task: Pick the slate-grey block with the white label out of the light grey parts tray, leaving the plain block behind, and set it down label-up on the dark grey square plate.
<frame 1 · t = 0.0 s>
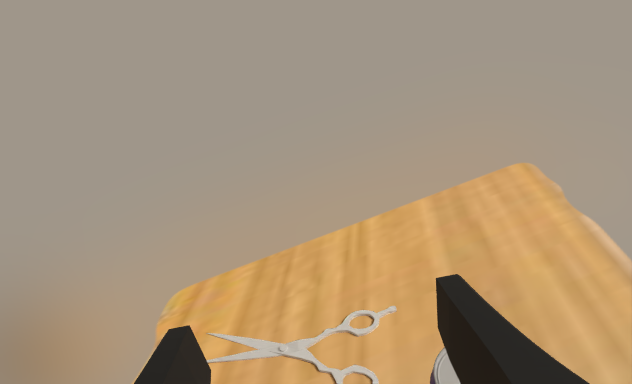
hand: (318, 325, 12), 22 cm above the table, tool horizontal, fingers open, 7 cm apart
scissors: (293, 353, 41), on the table
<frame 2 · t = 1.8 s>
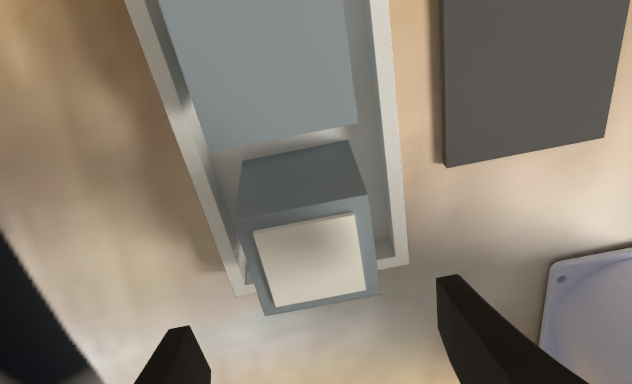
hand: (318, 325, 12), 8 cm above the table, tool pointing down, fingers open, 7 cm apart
dark grey square plate: (527, 59, 17), on the table
plain block: (268, 32, 15), resting on parts tray
parts tray: (288, 119, 17), on the table
labelled block: (305, 195, 19), resting on parts tray
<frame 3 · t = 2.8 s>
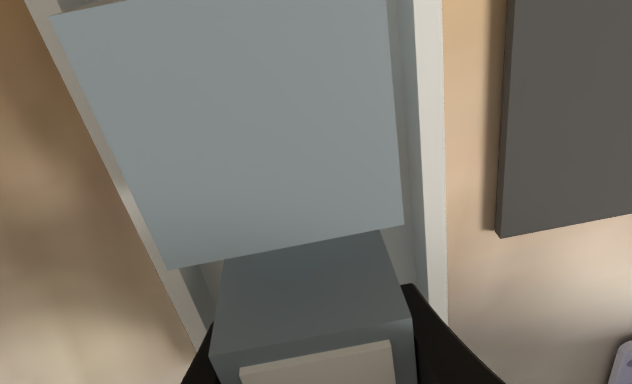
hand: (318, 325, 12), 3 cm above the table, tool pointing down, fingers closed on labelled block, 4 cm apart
dark grey square plate: (619, 100, 12), on the table
plain block: (262, 68, 11), resting on parts tray
parts tray: (290, 179, 13), on the table
labelled block: (312, 274, 14), resting on parts tray, touching gripper
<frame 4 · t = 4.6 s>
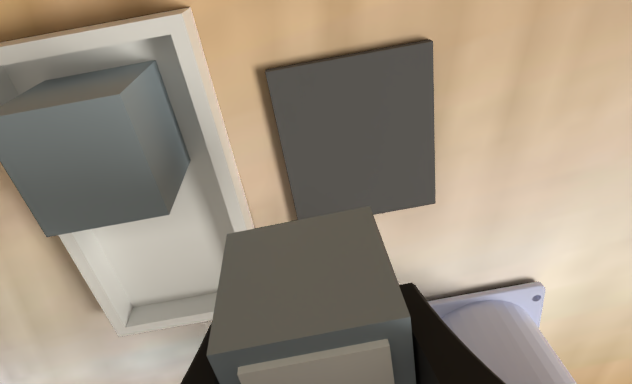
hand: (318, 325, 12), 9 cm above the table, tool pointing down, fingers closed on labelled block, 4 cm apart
dark grey square plate: (357, 141, 20), on the table
plain block: (122, 122, 18), resting on parts tray
parts tray: (153, 188, 20), on the table
labelled block: (311, 274, 14), point 7 cm above the table, touching gripper
when the fingers open (4 cm above the table, at t = 6.4 s): labelled block stays where it is, resting on dark grey square plate.
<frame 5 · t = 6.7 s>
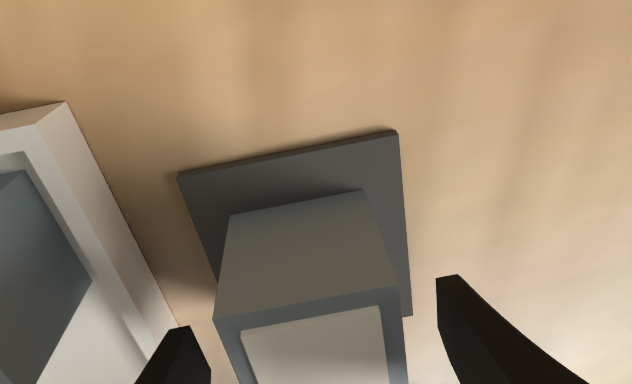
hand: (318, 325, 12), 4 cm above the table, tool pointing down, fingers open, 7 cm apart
dark grey square plate: (309, 249, 15), on the table
parts tray: (53, 309, 16), on the table
labelled block: (309, 255, 15), resting on dark grey square plate
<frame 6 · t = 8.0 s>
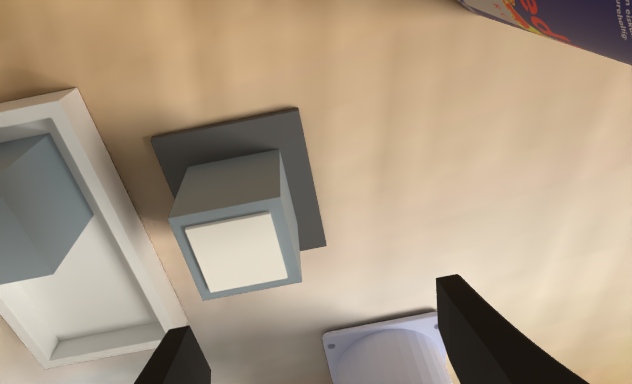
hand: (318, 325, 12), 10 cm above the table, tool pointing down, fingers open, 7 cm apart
dark grey square plate: (247, 193, 22), on the table
plain block: (27, 185, 20), resting on parts tray
parts tray: (65, 237, 22), on the table
labelled block: (245, 197, 21), resting on dark grey square plate
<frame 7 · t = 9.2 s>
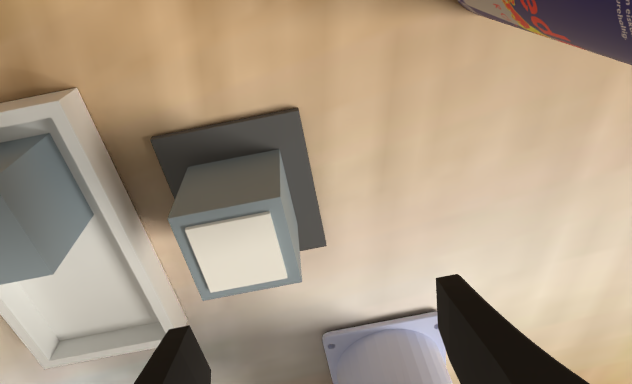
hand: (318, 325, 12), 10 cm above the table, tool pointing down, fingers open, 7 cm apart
dark grey square plate: (246, 193, 22), on the table
plain block: (27, 185, 20), resting on parts tray
parts tray: (65, 237, 22), on the table
labelled block: (245, 197, 21), resting on dark grey square plate
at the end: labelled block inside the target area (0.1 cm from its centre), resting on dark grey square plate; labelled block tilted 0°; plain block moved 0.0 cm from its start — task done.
